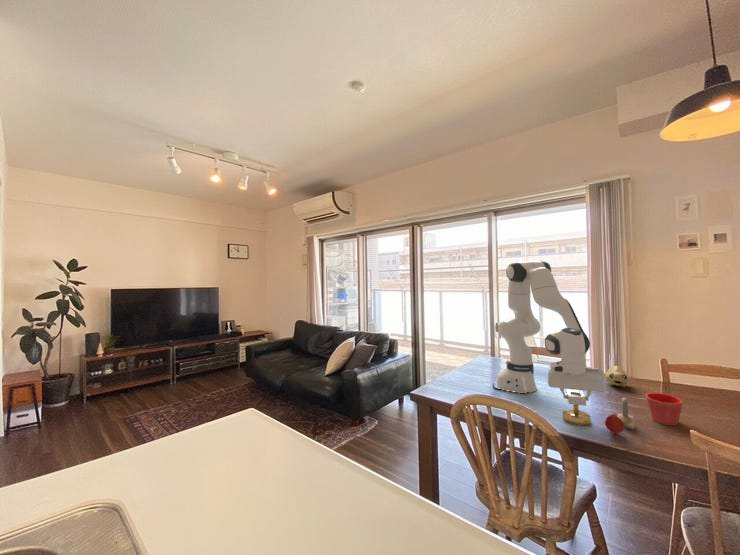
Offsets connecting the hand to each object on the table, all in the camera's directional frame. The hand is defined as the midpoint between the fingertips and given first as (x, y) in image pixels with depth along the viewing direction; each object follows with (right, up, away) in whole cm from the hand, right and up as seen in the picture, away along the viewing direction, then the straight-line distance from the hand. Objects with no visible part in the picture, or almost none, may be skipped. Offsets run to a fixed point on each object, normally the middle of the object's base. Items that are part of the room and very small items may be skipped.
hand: (575, 399), depth 132 cm
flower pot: (+34, -8, -4) cm, 35 cm away
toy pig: (+46, -7, +34) cm, 58 cm away
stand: (+16, -8, -7) cm, 19 cm away
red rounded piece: (+7, -9, -12) cm, 17 cm away
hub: (0, -9, 0) cm, 9 cm away
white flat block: (0, -1, 0) cm, 1 cm away
